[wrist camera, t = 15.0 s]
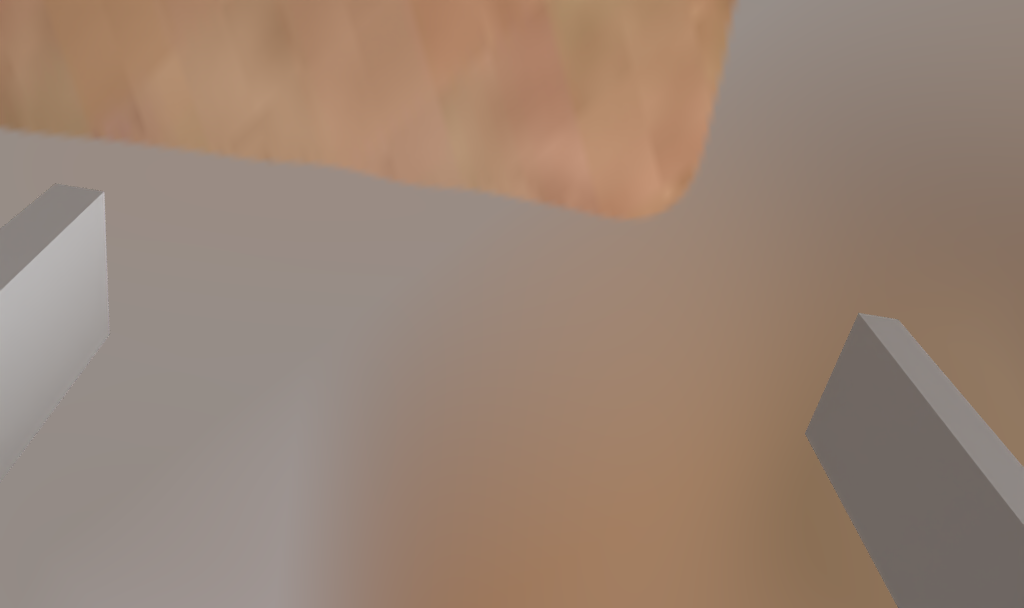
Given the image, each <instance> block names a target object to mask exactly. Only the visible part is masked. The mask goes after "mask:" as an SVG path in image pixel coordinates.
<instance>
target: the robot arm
mask: <svg viewBox="0 0 1024 608" xmlns="http://www.w3.org/2000/svg"><path fill="white" fill-rule="evenodd" d="M104 199H105V198H104V191H99V190H93V189H87V188H80V187H74V186H68V185H61V184H54V185H52V186H51V187H50V188H49V189H48V190H46V191H45V192H44V193H43V194H42V195H40V196H39V197H38V198H37V199H36V200H34V201H33V202H32V203H31V204H30V205H28V206H27V207H26V208H25V209H24V210H22V211H21V212H20V213H19V214H17V215H16V216H15V217H14V218H13V219H11V220H10V221H9V222H8V223H7V224H5V225H4V226H3V227H2V228H1V229H0V482H1V481H2V480H3V478H4V477H5V476H6V474H7V473H8V472H9V470H10V469H11V468H12V466H13V465H14V464H15V462H16V461H17V459H18V458H19V457H20V455H21V454H22V453H23V451H24V450H25V448H26V447H27V446H28V444H29V443H30V442H31V441H32V439H33V438H34V436H35V435H36V434H37V432H38V431H39V430H40V428H41V427H42V426H43V424H44V423H45V422H46V420H47V419H48V417H49V416H50V415H51V413H52V412H53V411H54V409H55V408H56V407H57V405H58V404H59V403H60V401H61V400H62V398H63V397H64V396H65V394H66V393H67V392H68V390H69V389H70V388H71V386H72V385H73V383H74V382H75V381H76V380H77V378H78V377H79V375H80V374H81V373H82V371H83V370H84V369H85V367H86V366H87V365H88V363H89V362H90V361H91V359H92V358H93V356H94V355H95V354H96V352H97V351H98V350H99V348H100V347H101V346H102V344H103V343H104V342H105V340H106V339H107V338H108V336H109V335H110V334H109V310H108V309H109V306H108V281H107V252H106V225H105V200H104ZM805 435H806V436H807V438H808V440H809V442H810V444H811V446H812V448H813V450H814V451H815V453H816V455H817V457H818V459H819V461H820V463H821V464H822V466H823V468H824V470H825V472H826V474H827V476H828V478H829V480H830V481H831V483H832V485H833V487H834V489H835V491H836V493H837V494H838V496H839V498H840V500H841V502H842V504H843V506H844V508H845V510H846V511H847V513H848V515H849V517H850V519H851V521H852V523H853V525H854V526H855V528H856V530H857V532H858V534H859V536H860V538H861V539H862V541H863V543H864V545H865V547H866V549H867V550H868V553H869V555H870V556H871V558H872V560H873V562H874V564H875V566H876V568H877V569H878V571H879V573H880V575H881V577H882V579H883V581H884V582H885V584H886V586H887V588H888V590H889V592H890V594H891V596H892V597H893V599H894V601H895V603H896V605H897V607H898V608H1024V467H1023V466H1022V465H1021V464H1020V463H1019V462H1018V460H1017V459H1016V458H1015V457H1014V456H1013V454H1012V453H1011V452H1010V451H1009V450H1008V448H1007V447H1006V446H1005V445H1004V444H1003V443H1002V442H1001V440H1000V439H999V438H998V437H997V435H996V434H995V433H994V432H993V431H992V430H991V428H990V427H989V426H988V425H987V424H986V423H985V421H984V420H983V419H982V418H981V417H980V415H979V414H978V413H977V412H976V411H975V410H974V408H973V407H972V406H971V405H970V404H969V403H968V401H967V400H966V399H965V398H964V397H963V395H962V394H961V393H960V392H959V391H958V390H957V388H956V387H955V386H954V385H953V384H952V382H951V381H950V380H949V379H948V378H947V377H946V376H945V374H944V373H943V372H942V371H941V370H940V368H939V367H938V366H937V365H936V364H935V362H934V361H933V360H932V359H931V358H930V357H929V355H928V354H926V352H925V351H924V349H923V348H922V347H921V346H920V345H919V344H918V343H917V341H916V340H915V339H914V338H913V336H911V334H910V333H909V332H908V331H907V329H906V328H905V327H904V326H903V325H902V324H901V322H900V321H899V320H897V319H892V318H886V317H879V316H873V315H867V314H861V313H858V316H857V318H856V320H855V322H854V325H853V327H852V329H851V331H850V334H849V336H848V338H847V340H846V343H845V345H844V347H843V349H842V352H841V354H840V356H839V358H838V361H837V363H836V365H835V367H834V370H833V372H832V374H831V377H830V379H829V381H828V383H827V385H826V388H825V390H824V392H823V394H822V397H821V399H820V401H819V403H818V406H817V408H816V410H815V412H814V415H813V417H812V419H811V421H810V424H809V426H808V428H807V430H806V433H805Z"/></svg>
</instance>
